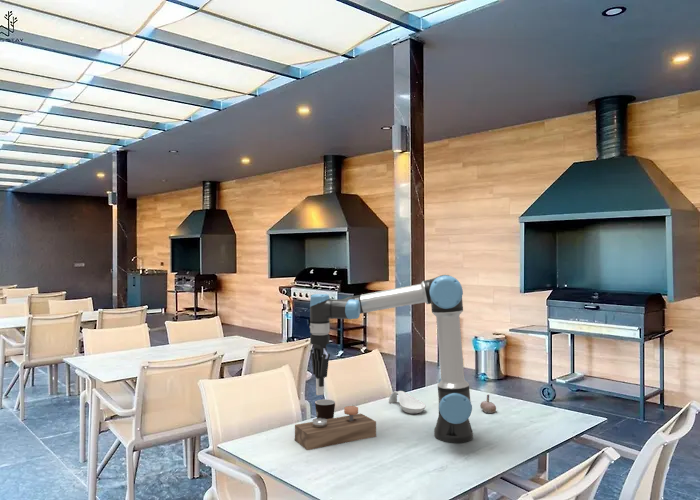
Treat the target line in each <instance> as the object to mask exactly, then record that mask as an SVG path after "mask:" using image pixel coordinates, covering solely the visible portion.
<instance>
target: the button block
mask: <svg viewBox="0 0 700 500" xmlns="http://www.w3.org/2000/svg"><path fill="white" fill-rule="evenodd" d="M376 437H377V421H376V420H374V419H372V418H370V417H368V416H367V415H365V414H363V413H358V414H356V415H353V421H350V422H349V415H343V416H338V417H334V418H332V419H327V426H326V427H322V428H317V427H313V421H309V422H304V423H298V424H297V423H296V424H294V441H295V442H296V443H298V444H299V445H300V446H302V447H303V448H304V449H305V450H306V451H310V450H315V449H318V448H325V447H330V446H335V445H336V446H337V445H341V444H345V442H346V443H350V442H355V441H361V440H366V439H370V438H376Z"/></svg>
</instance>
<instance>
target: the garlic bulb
mask: <svg viewBox="0 0 700 500" xmlns="http://www.w3.org/2000/svg"><path fill="white" fill-rule="evenodd" d="M480 409H481V410H482V411H484V413H485V414H493V413H495V412H497V407H496V405H495V403H493V402H492V401H490V394H487V395H486V401H485V400H484V401H481V403H480Z"/></svg>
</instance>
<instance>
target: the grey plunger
mask: <svg viewBox="0 0 700 500" xmlns="http://www.w3.org/2000/svg"><path fill="white" fill-rule="evenodd" d="M312 422H313V427H317V428H322V427H326V426H327V419H325V418H317V417H316V418H313V419H312Z"/></svg>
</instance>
